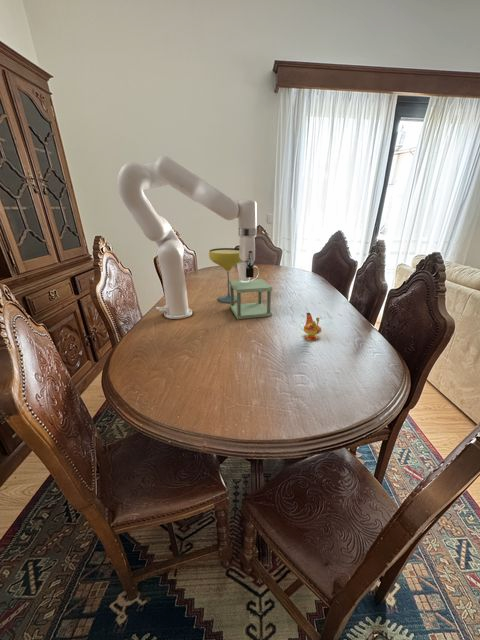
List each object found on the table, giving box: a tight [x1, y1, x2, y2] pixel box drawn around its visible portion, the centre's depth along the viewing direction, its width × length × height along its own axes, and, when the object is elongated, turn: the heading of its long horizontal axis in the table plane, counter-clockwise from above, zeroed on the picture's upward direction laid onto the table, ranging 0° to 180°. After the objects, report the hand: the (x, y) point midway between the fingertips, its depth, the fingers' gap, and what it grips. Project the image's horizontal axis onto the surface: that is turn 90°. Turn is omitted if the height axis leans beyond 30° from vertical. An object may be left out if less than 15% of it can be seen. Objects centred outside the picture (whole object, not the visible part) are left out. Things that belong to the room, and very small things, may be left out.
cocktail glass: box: [208, 247, 242, 304], centre depth 147 cm, size 18×18×25 cm
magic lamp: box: [303, 312, 323, 342], centre depth 111 cm, size 7×18×11 cm, turn 3°
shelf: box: [229, 278, 273, 320], centre depth 134 cm, size 16×16×14 cm
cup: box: [236, 262, 260, 283], centre depth 128 cm, size 7×10×8 cm
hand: (247, 275), depth 129 cm, fingers closed on cup, 6 cm apart
